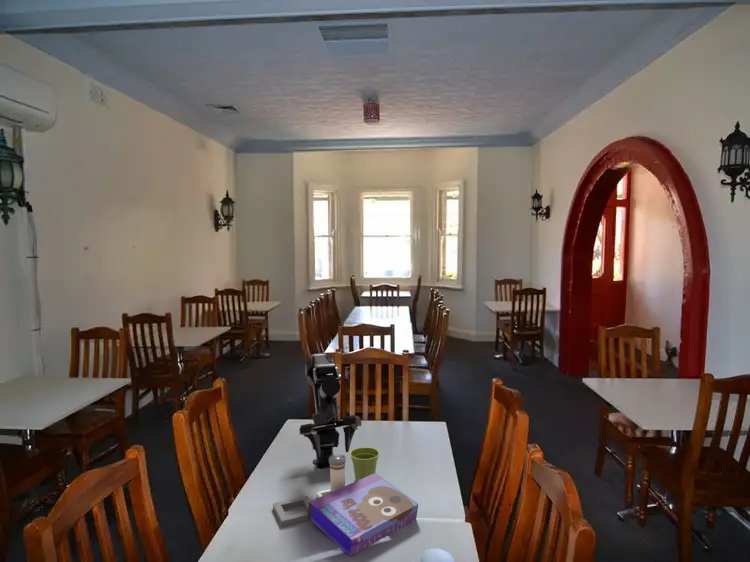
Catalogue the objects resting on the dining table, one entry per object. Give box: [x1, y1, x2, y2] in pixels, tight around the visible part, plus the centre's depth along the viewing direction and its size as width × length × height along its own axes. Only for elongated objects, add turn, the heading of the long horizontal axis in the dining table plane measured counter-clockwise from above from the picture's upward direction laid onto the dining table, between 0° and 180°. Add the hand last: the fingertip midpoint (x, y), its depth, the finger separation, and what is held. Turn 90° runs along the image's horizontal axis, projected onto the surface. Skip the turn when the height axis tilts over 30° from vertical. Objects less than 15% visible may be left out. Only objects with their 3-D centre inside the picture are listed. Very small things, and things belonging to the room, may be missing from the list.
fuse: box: [329, 454, 347, 492], centre depth 151 cm, size 5×5×13 cm
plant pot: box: [349, 446, 380, 482], centre depth 167 cm, size 9×9×9 cm
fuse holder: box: [272, 495, 311, 527], centre depth 146 cm, size 10×10×2 cm
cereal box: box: [308, 472, 419, 557], centre depth 141 cm, size 17×5×24 cm
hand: (333, 454), depth 160 cm, fingers open, 9 cm apart
